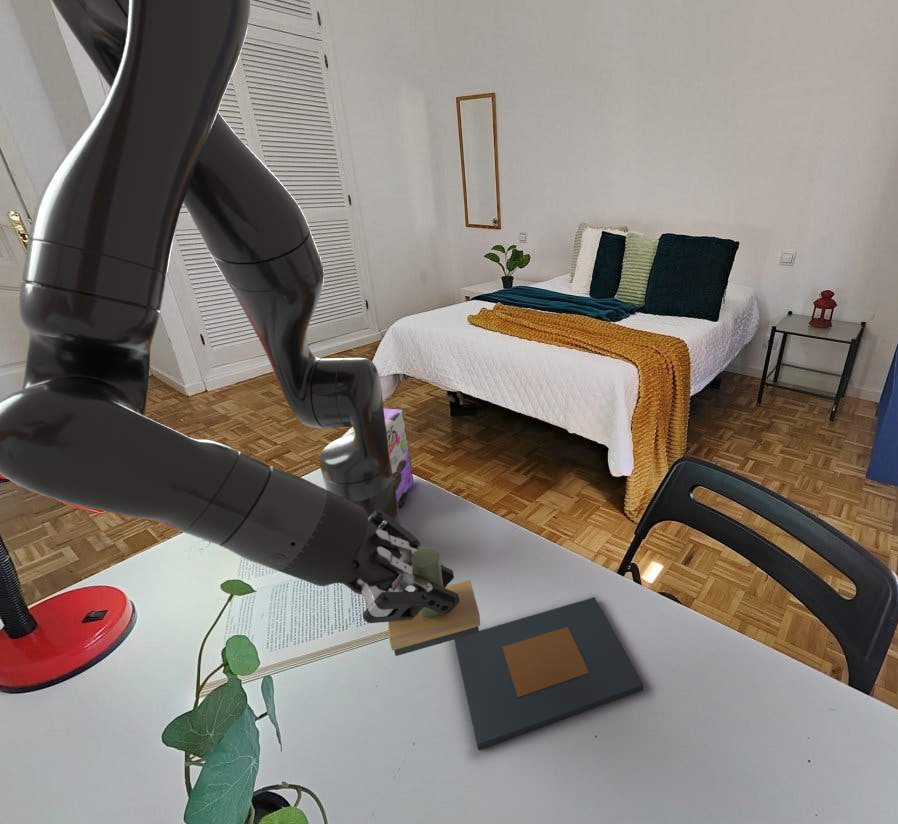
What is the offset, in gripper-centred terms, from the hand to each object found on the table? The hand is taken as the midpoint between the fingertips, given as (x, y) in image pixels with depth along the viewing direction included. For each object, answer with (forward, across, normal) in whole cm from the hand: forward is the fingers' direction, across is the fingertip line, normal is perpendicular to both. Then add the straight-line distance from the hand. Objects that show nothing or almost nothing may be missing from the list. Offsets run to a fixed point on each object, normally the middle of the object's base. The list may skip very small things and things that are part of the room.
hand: (450, 591), depth 52 cm
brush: (+2, 0, +5) cm, 5 cm away
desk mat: (+18, 0, +4) cm, 19 cm away
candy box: (+6, +40, +16) cm, 44 cm away
